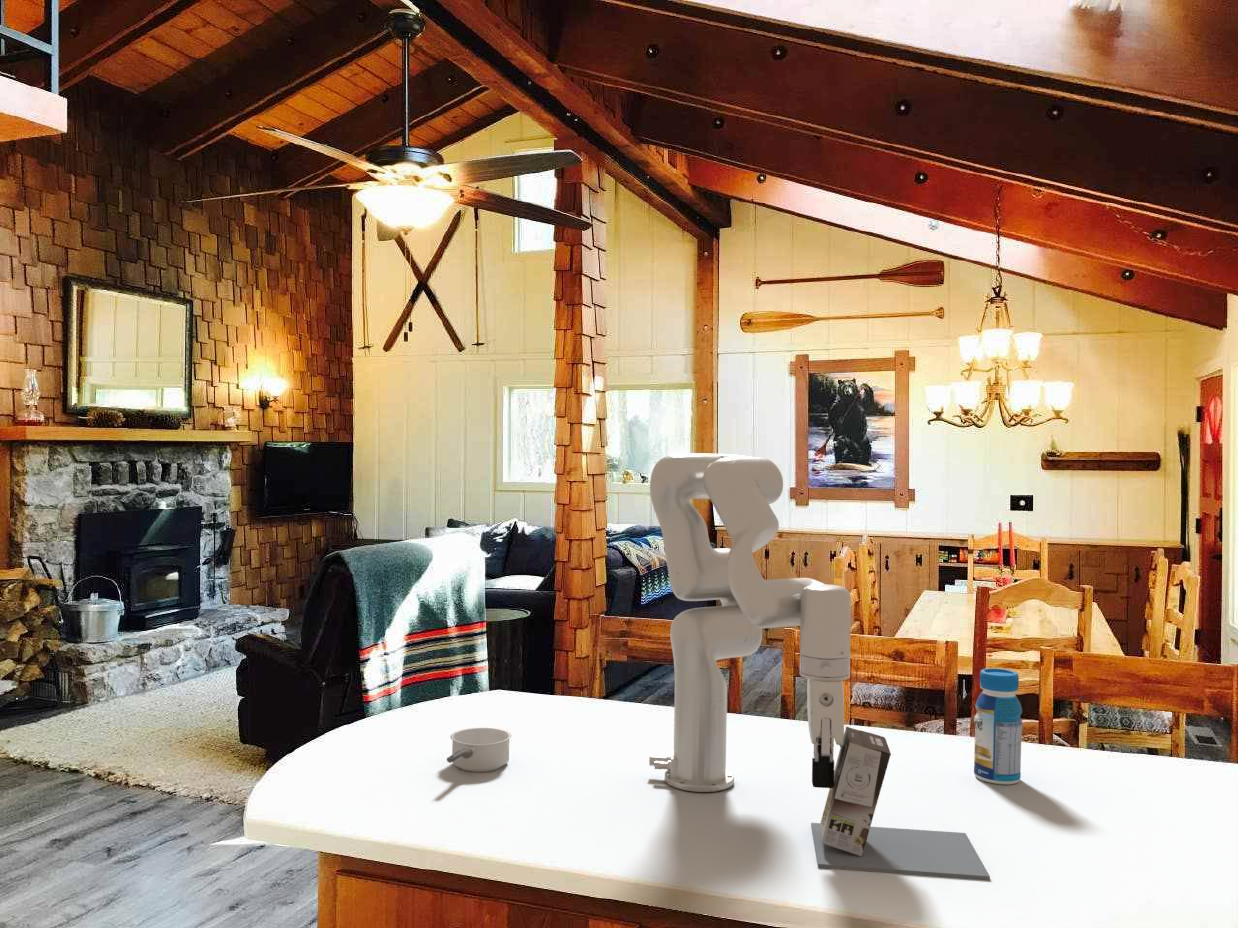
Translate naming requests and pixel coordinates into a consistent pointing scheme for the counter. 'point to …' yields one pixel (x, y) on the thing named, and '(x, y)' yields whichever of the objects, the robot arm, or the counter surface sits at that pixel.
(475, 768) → the saucepan
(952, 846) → the slate mat
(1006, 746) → the beverage bottle
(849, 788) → the coffee box
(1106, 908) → the counter surface
